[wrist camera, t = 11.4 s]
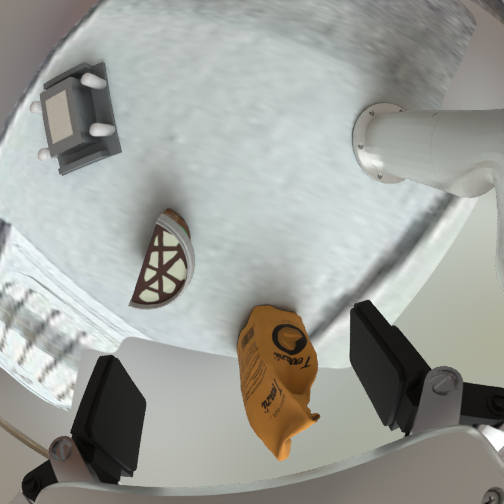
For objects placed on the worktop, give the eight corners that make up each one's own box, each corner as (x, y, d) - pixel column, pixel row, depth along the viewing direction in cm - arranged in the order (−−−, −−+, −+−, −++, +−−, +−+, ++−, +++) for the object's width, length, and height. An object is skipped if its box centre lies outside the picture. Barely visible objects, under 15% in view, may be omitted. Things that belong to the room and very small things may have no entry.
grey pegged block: (105, 63, 28) (89, 53, 23) (122, 152, 34) (107, 154, 28) (48, 91, 28) (27, 87, 23) (64, 175, 33) (43, 181, 28)
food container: (181, 287, 42) (173, 327, 33) (144, 273, 41) (127, 309, 32) (212, 215, 39) (211, 239, 30) (171, 198, 37) (157, 217, 28)
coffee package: (307, 310, 47) (357, 412, 26) (279, 362, 51) (307, 462, 30) (252, 297, 44) (278, 411, 24) (228, 353, 48) (239, 462, 28)
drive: (90, 83, 28) (69, 76, 23) (101, 141, 32) (81, 142, 26) (61, 98, 28) (38, 93, 23) (72, 154, 32) (50, 157, 26)
